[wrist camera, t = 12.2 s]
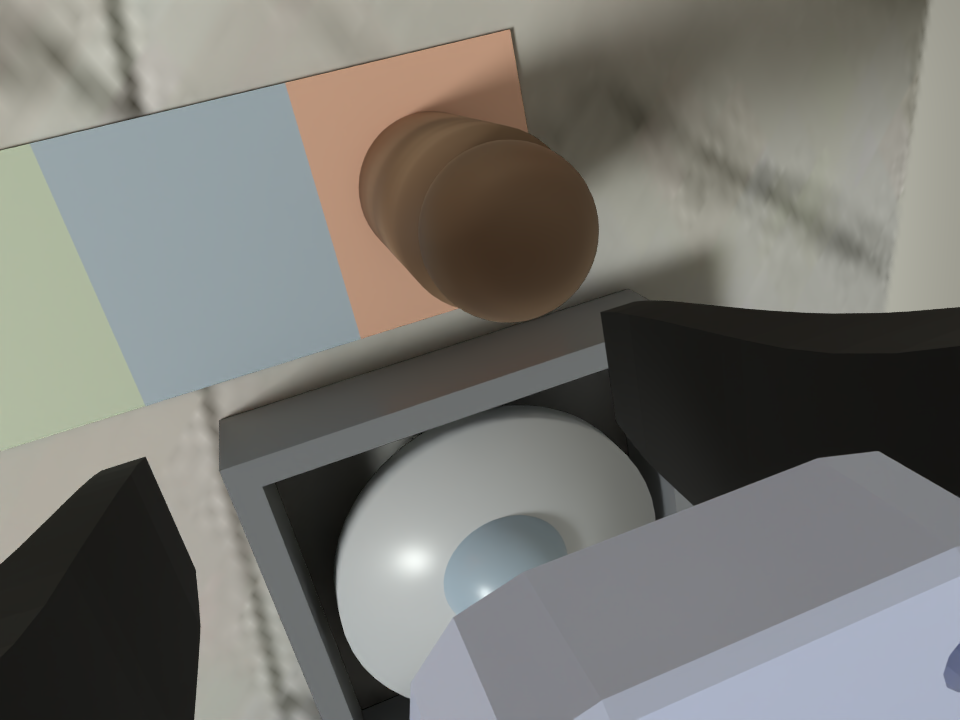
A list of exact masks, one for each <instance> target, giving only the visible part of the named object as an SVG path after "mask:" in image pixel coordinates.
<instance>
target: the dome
mask: <svg viewBox="0 0 960 720" xmlns="http://www.w3.org/2000/svg"><path fill="white" fill-rule="evenodd" d="M654 521H656V520H655V511H654V507H653V502H652V498H651V495H650V493H649V490H648V487H647V485H646V482H645V481H644V479H643V477H642V475H641V474H640V472H639V470H638V469H637V467H636V466H635V465H634V464H633V462H632V461H631V460H630V459H629V458H628V456H627V455H626V454H625V453H624V452H623V451H622V450H621V449H620V448H619V447H618V446H617V445H615V444H614V443H613V442H612V441H611V440H610V439H609V438H608V437H607V436H606V435H604V434H603V433H602V432H601V431H600V430H599V429H597V428H596V427H594V426H592V425H591V424H589V423H587V422H586V421H584V420H583V419H580V418H578V417H576V416H573V415H571V414H568V413H566V412H563V411H559V410H555V409H551V408H547V407H538V406H529V405H514V406H500V407H494V408H491V409H488V410H485V411H482V412H479V413H476V414H473V415H470V416H467V417H464V418H461V419H459V420H456V421H453V422H450V423H447V424H444V425H441V426H438V427H435V428H432V429H430V430H428V431H426V432H424V433H423V434H421V435H419V436H418V437H416V438H415V439H413V440H412V441H411V442H409V443H408V444H406V445H405V446H404V447H402V448H401V449H400V450H399V451H397V452H396V453H395V454H394V455H393V456H392V457H391V458H390V459H388V460H387V461H386V462H385V463H384V464H383V465H382V466H381V467H380V468H379V470H378V471H377V472H376V473H375V474H374V475H373V476H372V478H371V479H370V480H369V481H368V482H367V484H366V485H365V487H364V488H363V490H362V491H361V492H360V494H359V495H358V497H357V498H356V500H355V502H354V504H353V506H352V507H351V509H350V511H349V513H348V515H347V517H346V519H345V522H344V525H343V528H342V530H341V533H340V536H339V539H338V544H337V548H336V553H335V558H334V577H333V578H334V588H335V597H336V601H337V606H338V610H339V615H340V619H341V623H342V626H343V630H344V633H345V636H346V639H347V641H348V643H349V645H350V647H351V649H352V651H353V653H354V654H355V656H356V657H357V659H358V660H359V661H360V663H361V664H362V666H363V667H364V668H365V669H366V670H367V671H368V672H369V673H370V674H371V675H372V676H373V677H374V678H375V679H376V680H378V681H379V682H381V683H382V684H383V685H385V686H386V687H388V688H389V689H391V690H393V691H395V692H397V693H399V694H401V695H403V696H404V697H407V698H410V688H411V682H412V680H413V678H414V677H415V675H416V674H417V672H418V671H419V669H420V668H421V666H422V665H423V663H424V661H425V660H426V658H427V657H428V655H429V654H430V652H431V651H432V649H433V648H434V646H435V644H436V643H437V641H438V640H439V638H440V637H441V635H442V634H443V632H444V630H445V629H446V627H447V626H448V624H449V623H450V621H451V620H452V618H453V617H454V616H456V615H457V614H459V613H460V612H462V611H464V610H465V609H467V608H468V607H470V606H471V605H473V604H474V603H476V602H477V601H479V600H481V599H482V598H484V597H485V596H487V595H488V594H490V593H491V592H493V591H495V590H496V589H498V588H499V587H501V586H502V585H504V584H505V583H507V582H508V581H510V580H512V579H513V578H515V577H516V576H518V575H519V574H521V573H522V572H524V571H527V570H529V569H532V568H534V567H537V566H540V565H542V564H545V563H547V562H550V561H553V560H555V559H558V558H560V557H563V556H566V555H568V554H571V553H573V552H576V551H579V550H581V549H584V548H586V547H589V546H591V545H594V544H597V543H599V542H602V541H604V540H607V539H610V538H612V537H615V536H617V535H620V534H623V533H625V532H628V531H630V530H633V529H636V528H638V527H641V526H643V525H646V524H649V523H651V522H654Z"/></svg>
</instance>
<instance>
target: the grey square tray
mask: <svg viewBox="0 0 960 720" xmlns="http://www.w3.org/2000/svg"><path fill="white" fill-rule="evenodd" d="M634 301H650V300H648V299H646V298H644V297H643V296H641V295H639V294H637V293H635V292H633V291H632V290H630V289H627V290H623V291H620V292H617V293H614V294H611V295H608V296H605V297H602V298H599V299H595V300H592V301H589V302H586V303H583V304H580V305H577V306H574V307H571V308H567V309H564V310H561V311H558V312H555V313H552V314H549V315H546V316H543V317H539V318H536V319H533V320H530V321H527V322H524V323H521V324H518V325H515V326H511V327H508V328H505V329H502V330H499V331H496V332H493V333H490V334H487V335H484V336H480V337H477V338H474V339H471V340H468V341H465V342H462V343H459V344H456V345H452V346H449V347H446V348H443V349H440V350H437V351H434V352H431V353H428V354H424V355H421V356H418V357H415V358H412V359H409V360H406V361H403V362H400V363H396V364H393V365H390V366H387V367H384V368H381V369H378V370H375V371H372V372H368V373H365V374H362V375H359V376H356V377H353V378H350V379H347V380H344V381H340V382H337V383H334V384H331V385H328V386H325V387H322V388H319V389H316V390H312V391H309V392H306V393H303V394H300V395H297V396H294V397H291V398H288V399H285V400H281V401H278V402H275V403H272V404H269V405H266V406H263V407H260V408H257V409H253V410H250V411H247V412H244V413H241V414H238V415H235V416H232V417H229V418H225V419H222V420H219V471H220V474H221V476H222V479H223V481H224V483H225V486H226V488H227V491H228V493H229V496H230V498H231V500H232V503H233V505H234V508H235V510H236V512H237V515H238V517H239V520H240V522H241V525H242V527H243V529H244V532H245V534H246V537H247V539H248V541H249V544H250V546H251V549H252V551H253V554H254V556H255V558H256V561H257V563H258V566H259V568H260V571H261V573H262V575H263V578H264V580H265V583H266V585H267V587H268V590H269V592H270V595H271V597H272V600H273V602H274V604H275V607H276V609H277V612H278V614H279V617H280V619H281V621H282V624H283V626H284V629H285V631H286V633H287V636H288V638H289V641H290V643H291V646H292V648H293V650H294V653H295V655H296V658H297V660H298V663H299V665H300V667H301V670H302V672H303V675H304V677H305V679H306V682H307V684H308V687H309V689H310V692H311V694H312V696H313V699H314V701H315V704H316V706H317V709H318V711H319V713H320V716H321V718H322V720H410V698H407V697H404V696H403V695H399V696H396V697H394V698H391V699H389V700H386V701H384V702H382V703H379V704H377V705H374V706H372V707H370V708H367V709H365V710H362V711H361V708H360V705H359V703H358V700H357V698H356V695H355V692H354V690H353V687H352V684H351V682H350V679H349V676H348V674H347V671H346V669H345V666H344V663H343V661H342V658H341V655H340V653H339V650H338V648H337V645H336V642H335V640H334V637H333V634H332V632H331V629H330V627H329V624H328V621H327V619H326V616H325V613H324V611H323V608H322V606H321V603H320V600H319V598H318V595H317V592H316V590H315V587H314V584H313V582H312V579H311V577H310V574H309V571H308V569H307V566H306V563H305V561H304V558H303V556H302V553H301V550H300V548H299V545H298V542H297V540H296V537H295V535H294V532H293V529H292V527H291V524H290V521H289V519H288V516H287V514H286V511H285V508H284V506H283V503H282V500H281V498H280V495H279V492H278V490H277V487H276V485H275V482H278V481H281V480H283V479H286V478H289V477H292V476H295V475H298V474H301V473H304V472H307V471H310V470H313V469H316V468H318V467H321V466H324V465H327V464H330V463H333V462H336V461H339V460H342V459H345V458H348V457H351V456H354V455H356V454H359V453H362V452H365V451H368V450H371V449H374V448H377V447H380V446H383V445H386V444H389V443H391V442H394V441H397V440H400V439H403V438H406V437H409V436H412V435H415V434H418V433H421V432H424V431H426V430H429V429H432V428H435V427H438V426H441V425H444V424H447V423H450V422H453V421H456V420H459V419H461V418H464V417H467V416H470V415H473V414H476V413H479V412H482V411H485V410H488V409H491V408H494V407H497V406H499V405H502V404H505V403H508V402H511V401H514V400H517V399H520V398H523V397H526V396H529V395H532V394H534V393H537V392H540V391H543V390H546V389H549V388H552V387H555V386H558V385H561V384H564V383H567V382H569V381H572V380H575V379H578V378H581V377H584V376H587V375H590V374H593V373H596V372H599V371H602V370H604V369H607V368H608V362H607V355H606V348H605V342H604V335H603V328H602V321H601V314H600V312H602V311H606V310H609V309H612V308H615V307H618V306H621V305H625V304H628V303H631V302H634ZM626 438H627V445H628V451H629V458H630V460H631V461H632V462H633V464H634V465H635V466H636V467H637V469H638V470H639V472H640V474H641V475H642V477H643V479H644V481H645V482H646V485H647V487H648V490H649V493H650V495H651V498H652V502H653V507H654V511H655V520H659V519H661V518H664V517H667V516H669V515H672V514H674V513H677V512H680V511H682V510H685V509H687V508H690V507H693V505H692V504H691V503H690V502H689V501H688V500H687V499H686V498H685V497H684V496H682V495H681V494H680V493H679V492H678V491H677V490H676V489H675V488H674V487H673V486H672V485H671V484H670V483H669V482H668V481H666V480H665V479H664V478H663V477H662V476H661V475H660V474H659V473H658V472H657V471H656V470H655V469H654V468H653V467H652V466H651V465H650V464H649V463H648V462H647V461H646V460H645V458H644V457H643V456H642V455H641V454H640V452H639V451H638V450H637V449H636V447H635V446H634V445H633V444H632V442H631V441H630V440H629V438H628V437H627V436H626Z"/></svg>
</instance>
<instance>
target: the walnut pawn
mask: <svg viewBox="0 0 960 720" xmlns="http://www.w3.org/2000/svg"><path fill="white" fill-rule="evenodd" d="M359 198H360V203H361V208H362V211H363V214H364V217H365V219H366V221H367V223H368V225H369V226H370V228H371V229H372V231H373V232H374V234H375V235H376V236H377V237H378V238H379V239H380V241H381V242H382V243H383V244H384V245H385V246H386V247H387V248H388V249H389V250H390V252H391V253H392V254H393V255H394V256H395V257H396V258H397V259H398V260H399V261H400V263H401V264H402V265H403V266H404V267H405V268H406V269H407V270H408V271H409V272H410V274H411V275H412V276H413V277H414V278H415V279H416V280H417V281H418V282H419V283H420V284H421V286H422V287H423V288H424V289H426V290H427V291H428V292H429V293H430V294H431V295H433V296H434V297H436V298H437V299H439V300H440V301H442V302H444V303H446V304H448V305H451V306H454V307H457V308H460V309H462V310H463V311H465V312H467V313H469V314H471V315H473V316H476V317H479V318H482V319H486V320H489V321H495V322H521V321H527V320H531V319H535V318H537V317H540V316H543V315H545V314H547V313H549V312H551V311H553V310H554V309H556V308H557V307H559V306H560V305H562V304H563V303H564V302H566V301H567V300H568V299H569V298H570V297H571V296H572V295H573V294H574V293H575V292H576V291H577V290H578V289H579V287H580V286H581V284H582V283H583V282H584V280H585V278H586V277H587V275H588V273H589V271H590V269H591V266H592V264H593V262H594V258H595V255H596V251H597V245H598V235H599V224H598V215H597V210H596V206H595V203H594V200H593V197H592V195H591V193H590V191H589V189H588V186H587V184H586V183H585V181H584V180H583V178H582V177H581V175H580V174H579V173H578V172H577V171H576V170H575V168H574V167H573V166H572V165H571V164H570V163H569V162H567V161H566V160H565V159H564V158H563V157H561V156H560V155H558V154H557V153H555V152H553V151H552V150H550V148H549V147H548V146H546V145H545V144H544V143H543V142H542V141H540V140H539V139H537V138H536V137H534V136H533V135H531V134H529V133H527V132H525V131H522V130H520V129H517V128H513V127H509V126H505V125H501V124H496V123H491V122H487V121H482V120H478V119H473V118H468V117H464V116H459V115H455V114H450V113H446V112H438V111H424V112H418V113H414V114H411V115H407V116H405V117H403V118H401V119H399V120H397V121H395V122H394V123H392V124H391V125H389V126H388V127H387V128H386V129H384V130H383V131H382V132H381V133H380V134H379V135H378V137H377V138H376V139H375V140H374V142H373V143H372V145H371V146H370V148H369V149H368V151H367V153H366V155H365V158H364V160H363V163H362V166H361V171H360V176H359Z"/></svg>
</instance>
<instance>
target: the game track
mask: <svg viewBox="0 0 960 720" xmlns="http://www.w3.org/2000/svg"><path fill="white" fill-rule="evenodd" d="M424 111H438V112H446V113H450V114H455V115H459V116H464V117H468V118H473V119H478V120H482V121H487V122H491V123H496V124H501V125H505V126H509V127H513V128H517V129H520V130H522V131H525V132H527V133H528V129H527V123H526V117H525V112H524V106H523V100H522V95H521V89H520V83H519V78H518V72H517V66H516V61H515V55H514V49H513V44H512V38H511V32H510V29H509V30H504V31H500V32H496V33H492V34H488V35H483V36H479V37H475V38H471V39H467V40H462V41H458V42H454V43H450V44H446V45H441V46H437V47H433V48H429V49H425V50H420V51H416V52H412V53H408V54H404V55H399V56H395V57H391V58H387V59H383V60H378V61H374V62H370V63H366V64H362V65H357V66H353V67H349V68H345V69H341V70H336V71H332V72H328V73H324V74H320V75H315V76H311V77H307V78H303V79H299V80H294V81H290V82H286V83H282V84H278V85H273V86H269V87H265V88H261V89H257V90H252V91H248V92H244V93H240V94H236V95H231V96H227V97H223V98H219V99H215V100H210V101H206V102H202V103H198V104H194V105H189V106H185V107H181V108H177V109H173V110H168V111H164V112H160V113H156V114H152V115H147V116H143V117H139V118H135V119H130V120H126V121H122V122H118V123H114V124H109V125H105V126H101V127H97V128H93V129H88V130H84V131H80V132H76V133H72V134H67V135H63V136H59V137H55V138H51V139H46V140H42V141H38V142H34V143H30V144H25V145H21V146H17V147H13V148H9V149H4V150H0V451H3V450H6V449H9V448H13V447H16V446H19V445H22V444H25V443H29V442H32V441H35V440H38V439H41V438H45V437H48V436H51V435H54V434H58V433H61V432H64V431H67V430H70V429H74V428H77V427H80V426H83V425H86V424H90V423H93V422H96V421H99V420H102V419H106V418H109V417H112V416H115V415H118V414H122V413H125V412H128V411H131V410H134V409H138V408H141V407H144V406H147V405H150V404H154V403H157V402H160V401H163V400H167V399H170V398H173V397H176V396H179V395H183V394H186V393H189V392H192V391H195V390H199V389H202V388H205V387H208V386H211V385H215V384H218V383H221V382H224V381H227V380H231V379H234V378H237V377H240V376H243V375H247V374H250V373H253V372H256V371H259V370H263V369H266V368H269V367H272V366H276V365H279V364H282V363H285V362H288V361H292V360H295V359H298V358H301V357H304V356H308V355H311V354H314V353H317V352H320V351H324V350H327V349H330V348H333V347H336V346H340V345H343V344H346V343H349V342H352V341H356V340H359V339H362V338H365V337H369V336H372V335H375V334H378V333H381V332H385V331H388V330H391V329H394V328H397V327H401V326H404V325H407V324H410V323H413V322H417V321H420V320H423V319H426V318H429V317H433V316H436V315H439V314H442V313H445V312H449V311H452V310H455V309H458V308H457V307H454V306H451V305H448V304H446V303H444V302H442V301H440V300H439V299H437V298H436V297H434V296H433V295H431V294H430V293H429V292H428V291H427V290H426V289H424V288H423V287H422V286H421V284H420V283H419V282H418V281H417V280H416V279H415V278H414V277H413V276H412V275H411V274H410V272H409V271H408V270H407V269H406V268H405V267H404V266H403V265H402V264H401V263H400V261H399V260H398V259H397V258H396V257H395V256H394V255H393V254H392V253H391V252H390V250H389V249H388V248H387V247H386V246H385V245H384V244H383V243H382V242H381V241H380V239H379V238H378V237H377V236H376V235H375V234H374V232H373V231H372V229H371V228H370V226H369V225H368V223H367V221H366V219H365V217H364V214H363V211H362V208H361V203H360V198H359V176H360V171H361V166H362V163H363V160H364V158H365V155H366V153H367V151H368V149H369V148H370V146H371V145H372V143H373V142H374V140H375V139H376V138H377V137H378V135H379V134H380V133H381V132H382V131H383V130H384V129H386V128H387V127H388V126H389V125H391V124H392V123H394V122H395V121H397V120H399V119H401V118H403V117H405V116H407V115H411V114H414V113H418V112H424Z"/></svg>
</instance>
